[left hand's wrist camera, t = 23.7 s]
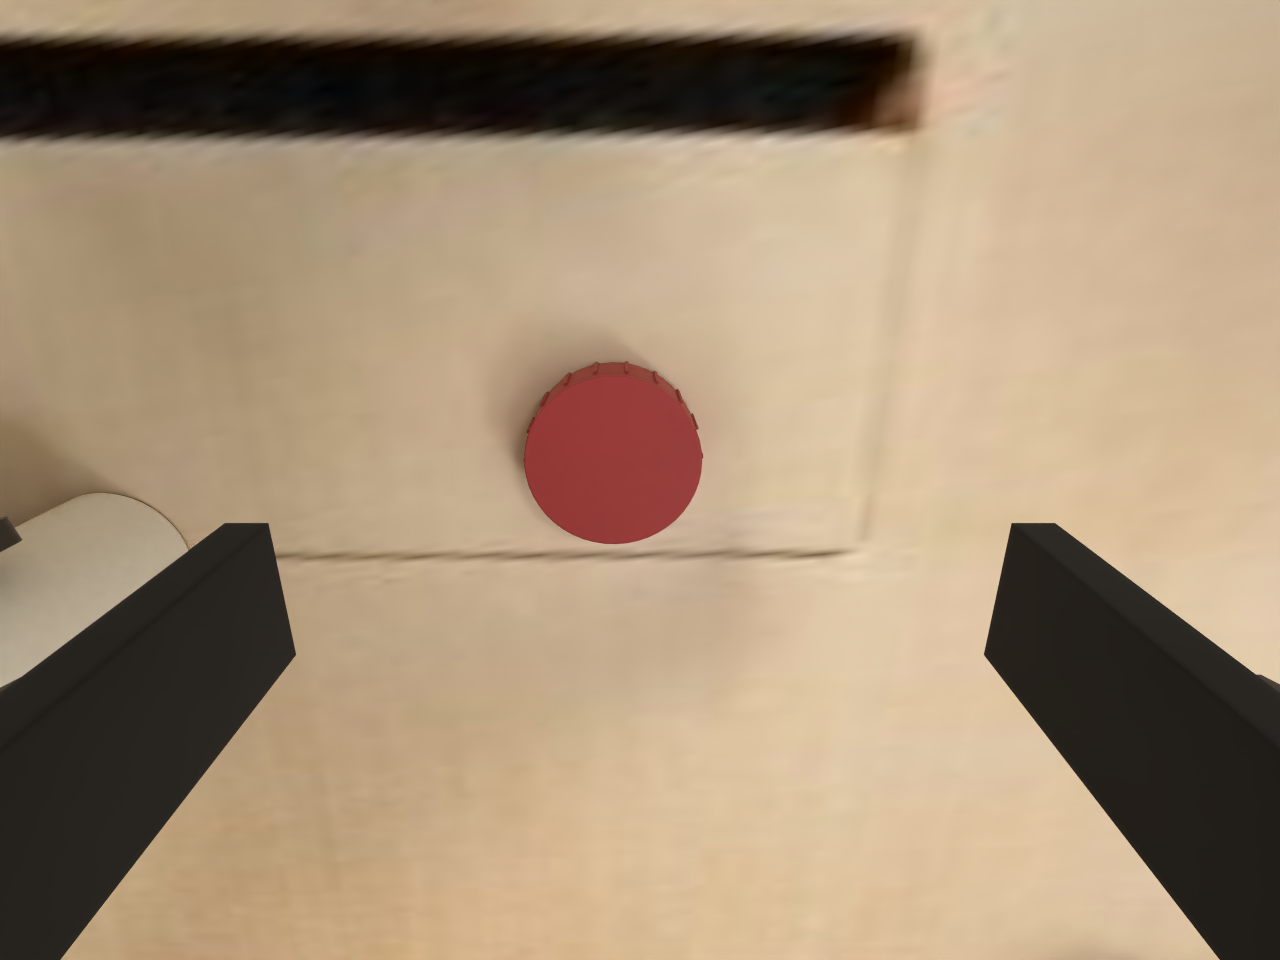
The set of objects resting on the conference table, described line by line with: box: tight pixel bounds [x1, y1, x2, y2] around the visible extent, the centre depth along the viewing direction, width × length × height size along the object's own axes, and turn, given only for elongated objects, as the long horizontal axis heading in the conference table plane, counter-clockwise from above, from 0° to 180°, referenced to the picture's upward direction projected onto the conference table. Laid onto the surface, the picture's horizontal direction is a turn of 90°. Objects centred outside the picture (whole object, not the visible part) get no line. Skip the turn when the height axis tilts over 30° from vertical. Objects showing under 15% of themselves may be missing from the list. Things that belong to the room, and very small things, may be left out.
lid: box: [524, 361, 703, 544], centre depth 22 cm, size 6×6×2 cm
